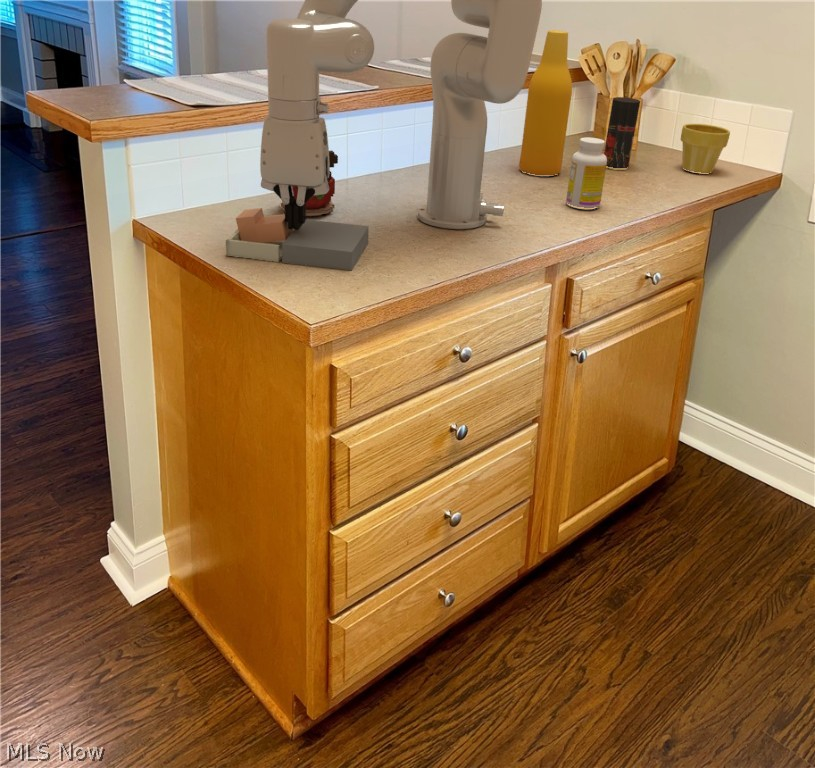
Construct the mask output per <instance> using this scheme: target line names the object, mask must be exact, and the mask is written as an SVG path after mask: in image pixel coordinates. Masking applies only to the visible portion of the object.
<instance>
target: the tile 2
mask: <svg viewBox="0 0 815 768" xmlns="http://www.w3.org/2000/svg"><path fill="white" fill-rule="evenodd" d="M255 229H256V233H257V238H258V242H259V243H266V242H276V241H285V240H286V239H287V238H288V237H289V236H290V235H291V233H292V232H293V229H288V222H285V213H283V214H282V213H281V214H274V215H273V214H272V215H264V216H263V217H262V218H261V219H260V220H259V221H258V222H257V223H256V224H255Z"/></svg>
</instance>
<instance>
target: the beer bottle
mask: <svg viewBox="0 0 815 768" xmlns="http://www.w3.org/2000/svg"><path fill="white" fill-rule="evenodd" d="M568 44H569V32H568V31H564V30H554V29H553V30H551V29H550V30H547V32H546V37H545V41H544V46H543V50H542V55H541V60H540V62H539V64H538V66H537V67H536V69H535V71H534V73H533V75H532V77H531V78H530V81H529V85H528V91H527V100H526V106H525V107H526V109H525V118H524V123H523V132H522V133H523V134H522V141H521V142H522V143H521V150H520V157H519V158H520V159H519V165H518V166H519V171H520V170H521V171H523V172H526V173H530V174H535V175H555V174H558V173H559V174H560V173H561V171H562V167H563V158H564V157H563V156H564V150H565V149H564V148H565V143H566V137H567V135H566V134H567V128H568V122H569V121H568V120H569V116H570V115H569V114H570V108H571V107H570V106H571V101H572V95H573V82H572V76H571V73H570V70H569V64H568V49H569V48H568V46H569V45H568ZM521 171H520V172H521Z"/></svg>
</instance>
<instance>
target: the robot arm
mask: <svg viewBox="0 0 815 768" xmlns="http://www.w3.org/2000/svg"><path fill="white" fill-rule="evenodd" d="M358 1H359V0H304V2H303V4H302V5H301V8H300V9H299V12H298V14H297V16H296V18H278V19H274V20H272V21H270V22H269V23H268V25H267V27H266V59H267V61H266V62H267V66H266V67H267V95H268V96H267V99H268V101H267V103H268V114H266V115H265V117H264V120H263V126H262V132H261V144H260V158H259V159H260V160H259V161H260V163H259V167H260V171H259V172H260V177H261V182H260V187H261V188H262V189H265V190H267V191H271V192H274V193H275V195H277V197H278V198H279V199H281V203H283V204H285V211H284V214H285V222H288V229H293V228H294V229H295V230H299V229H300V227H301V226H302V224H304V223H305V221H306V220H307V216H306V202H307V201H308V200H309V199H310V198H311V197H312V196H314V195H321V194H326V193H327V192H328V191H329V185H328V181H327V179H328V178H329V174H330V171H331V169H330V162H329V151H330V149H329V139H328V129H327V125H326V119H325V118H324V117H321V114H322V115H323V114H324V113H325V114H328V113H329V107H330V104H329V103H324V102H323V101H322V100H321V96H320V73H322V72H324V73H334V74H335V73H336V74H337V73H338V74H345V75H346V74H347V75H348V74H355V73H358V72H361V70H363V69H365V68H366V67H367V66H368V65H369V63H370V62H371V60H372V59H373V56H374V53H375V41H374V38H373V36H372V34H371V32H370V30H369V29H368V28H367V27H366V26H364V25H363V24H362V23H360V22H358V21H356V20H354V19H350V18H346V17H347V16H348V13H349V12H351V11H350V10H352V8H353V7H354V5H355V4H356V3H358ZM542 1H543V0H451V1H450V3H451V9H452V13H453V15H454V16H455V17H456V19H458V20H459V21H461V22H462V23H465V24H468V25H470V26H475V27H479V28H485V29H488V34H487V37H486V36H482V35H476V34H473V33H466V32H454V33H450V34H448V35H445V36H444V37H442V38H441V39H440V40H439V41H438V42H437V44H436V45H435V47H434V49H433V51H432V53H431V58H430V79H431V88H432V101H433V102H432V103H433V104H432V105H433V108H432V125H431V140H430V150H429V151H430V153H429V155H430V156H429V170H428V181H427V182H428V183H427V184H428V185H427V197H426V204H424V205H421V206H420V207H418V209H417V218H418V219H419V220H420V222H423V224H427V225H428V226H433V227H437V228H441V229H449V230H450V229H451V230H466V229H468V230H469V229H474V228H479V227H481V226H483V225H484V224H485V223H486V222H487V218H488V216H487V215H492V216H497V217H503V216H504V209H505V205H502V204H499V202H497V201H486V199H483V197H484V196H483V195H484V193H483V192H481V190H482V180H483V171H484V170H483V169H484V161H485V160H484V159H485V152H486V151H485V149H486V142H487V130H488V112H487V107H486V103H485V102H488V103H492V104H507V103H508V102H511V101H512V100H514V99H515V98H516V97H517V96H518V95H519V94H520V92H521V91H522V89H523V87H524V85H525V82H526V80H527V76H528V73H529V69H530V65H531V60H532V56H533V51H534V46H535V41H536V37H537V33H538V30H539V29H538V28H539V24H540V19H541V13H542V9H543V8H542V6H543V2H542ZM292 186H299V187H298V194H297V200H295V197H294V194H293V188H292Z"/></svg>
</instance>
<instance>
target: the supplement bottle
mask: <svg viewBox="0 0 815 768" xmlns="http://www.w3.org/2000/svg"><path fill="white" fill-rule="evenodd" d="M605 144H606V140H604V139H601V138H596V137H589V136H588V137H581V138H580V139H579V143H578V146H579V150H578V151H576V152H575V153H573V155H572V157H571V163H570V172H569V178H568V185H567V193H566V201H565V203H566V202H567V203H568V204H570V205H573V206H577V207H584V208H594V207H598V206H599V207H600V206H601V201H602V195H603V187H604V183H605V177H606V171H607V169H606V165H607V158H606V156H605V155H604V153H603V150H604V149H605ZM567 203H566V204H567ZM599 207H598V208H599Z"/></svg>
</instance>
